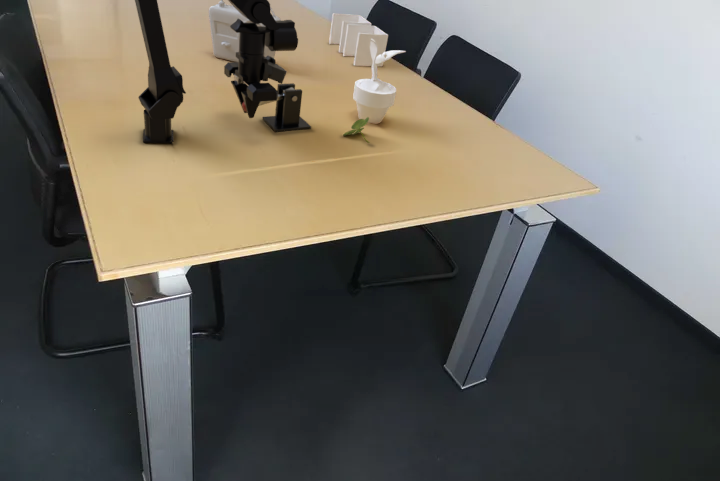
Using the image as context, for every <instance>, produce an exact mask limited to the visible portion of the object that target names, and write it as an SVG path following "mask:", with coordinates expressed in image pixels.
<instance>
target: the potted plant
mask: <svg viewBox="0 0 720 481" xmlns="http://www.w3.org/2000/svg"><path fill="white" fill-rule="evenodd" d="M370 40H371V42H370V53H371V57H372V60H373V63H372V66H371V78H359V79H357V80H355V82H354V88H353V94H352V99H353V101H355V104H356V110H357V118H358V120H359V119H364V120H365V119H366V118H367V117H369V120H368V122H367V124H374V125H375V124H376V125H377V124H380V123H381V122H383V119H384V118H385V116H386V114H387V112H388V111H389V110H390V108H391V107H393V106H394V105H395V100H396V95H397V87H395V86H394V85H392V83H389V82H386V81H384V80H381V79H380V78H378V76H379V75H378V66H377V64H381V63H383V64H384V63H385V62H388V61H389V60H391V58H392V57H394V56H396V55H399V54H403V53H406V52H407V51H406V50H399V49H397V50H396V49H395V50H393V49H392V50H387V51H385V52H384V53H383V51H382V52H381V53H380V55H378V56H377V53H378V46H377V44H376V42H375V40H374V39H370ZM386 41H387V42H388V41H389V40H388V39H387V40H386V38H385V35H384V38H383V39H382V40H381V42H382V43H383V47H384V44H385V42H386ZM382 50H383V49H382Z"/></svg>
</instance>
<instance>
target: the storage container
mask: <svg viewBox="0 0 720 481" xmlns="http://www.w3.org/2000/svg"><path fill="white" fill-rule="evenodd" d="M329 31H330V32H329V39H328V44H329V45H339V46H338V53H339V54H341V53H342V57H354V58H353V66H354V67H372V63H373V60H372V57H371V53H370V42H371V40H370V39H374V40H375V42H376V44H377V46H378V53H377V56H378V55H380V53H381V52H382V51H383V53H384V52H386V50H387V44H388V41H386V42H385V44H384V47H383V43H382V42H381V40H382V39H383V38H384V35H385V38H386V40H388V39H389V34H388V33H386V32H384V31H383V30H382V29H380V28H379V27H378V26H376V25H372V23H371V22H370V21H369V20H368V19H366V18H364V17H363V16H362V15H360V14H349V13H333V12H332V16H331V25H330V30H329ZM382 49H383V50H382ZM383 66H384V62H383V63H381V64H377V67H383Z"/></svg>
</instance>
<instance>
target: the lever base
mask: <svg viewBox="0 0 720 481" xmlns="http://www.w3.org/2000/svg"><path fill="white" fill-rule="evenodd" d="M290 87H293V88H294V89H295V90H285V93H284V99H281V100H278V101H275V114H274V115H270V116H269V115H267V116H262V118H261V120H262V121H263V122H264V123H265V124H266V125H267V126H268V127H269V128H270V129H271V130H272V131H273V132H274V133H285V132H295V131H297V132H298V131H305V130H307V131H308V130H311V129H312V126H311V125H310V124H309V123H308V122H307V121H306V120H304V119H303V117H302V116H301V107H302V99H303V90H302V89H300V88H298V89H297V88H296V84H295V83H293V82H292V83H282V84H281V83H278V84H277V87H276V88H277V89H276V90H277V91H278V94H282V90H283V89H286V88H290Z"/></svg>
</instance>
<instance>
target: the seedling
mask: <svg viewBox="0 0 720 481" xmlns="http://www.w3.org/2000/svg"><path fill="white" fill-rule="evenodd" d="M368 120H369V117H367V118H366V119H365V120H364V119H359V118H358V119H357V120H355V121H354V123H353V124H352V125H351V130H348V131H346V132H344V133H343V136H349V135H357V134H358V133H360V134H361V135H362V137H363V139H364V141H365V142H367V143H369V144H370V142H369V141H368V140H367V139H366V138H365V135H364V134H363V130H364V129H365V126H366V125H367V124H368V123H367V122H368Z"/></svg>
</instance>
